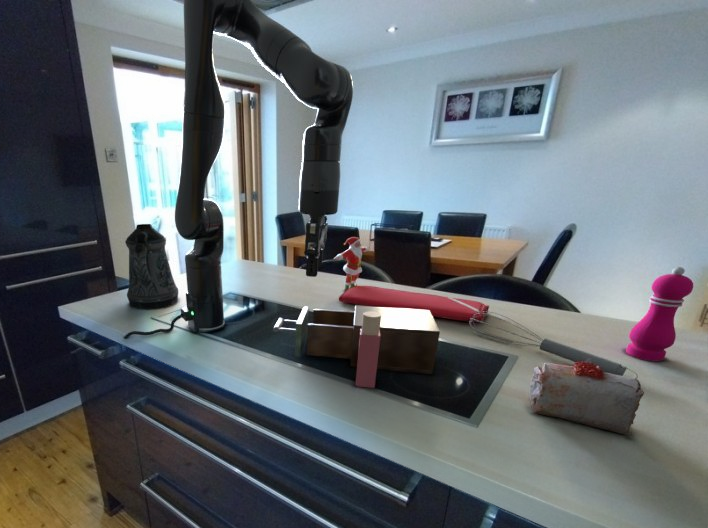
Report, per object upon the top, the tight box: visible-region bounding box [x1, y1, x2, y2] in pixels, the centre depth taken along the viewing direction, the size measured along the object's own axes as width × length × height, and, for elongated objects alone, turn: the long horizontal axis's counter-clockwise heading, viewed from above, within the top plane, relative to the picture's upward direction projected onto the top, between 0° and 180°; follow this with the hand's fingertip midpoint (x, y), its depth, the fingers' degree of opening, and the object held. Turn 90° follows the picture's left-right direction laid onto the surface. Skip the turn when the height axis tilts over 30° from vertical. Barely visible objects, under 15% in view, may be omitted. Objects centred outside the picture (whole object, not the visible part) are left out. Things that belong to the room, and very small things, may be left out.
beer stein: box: [124, 223, 179, 310], centre depth 124 cm, size 16×19×25 cm
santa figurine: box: [333, 236, 370, 292], centre depth 136 cm, size 25×6×19 cm, turn 140°
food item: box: [529, 359, 645, 436], centre depth 64 cm, size 14×8×10 cm, turn 57°
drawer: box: [272, 306, 355, 360], centre depth 90 cm, size 21×12×8 cm, turn 76°
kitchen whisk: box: [469, 310, 639, 380], centre depth 88 cm, size 6×34×6 cm, turn 33°
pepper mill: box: [625, 266, 694, 362], centre depth 83 cm, size 7×7×20 cm
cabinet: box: [349, 305, 441, 375], centre depth 86 cm, size 17×14×10 cm
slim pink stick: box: [355, 311, 381, 389], centre depth 74 cm, size 4×3×15 cm
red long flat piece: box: [338, 285, 490, 323], centre depth 120 cm, size 16×41×4 cm, turn 54°
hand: (314, 271), depth 81 cm, fingers open, 8 cm apart
